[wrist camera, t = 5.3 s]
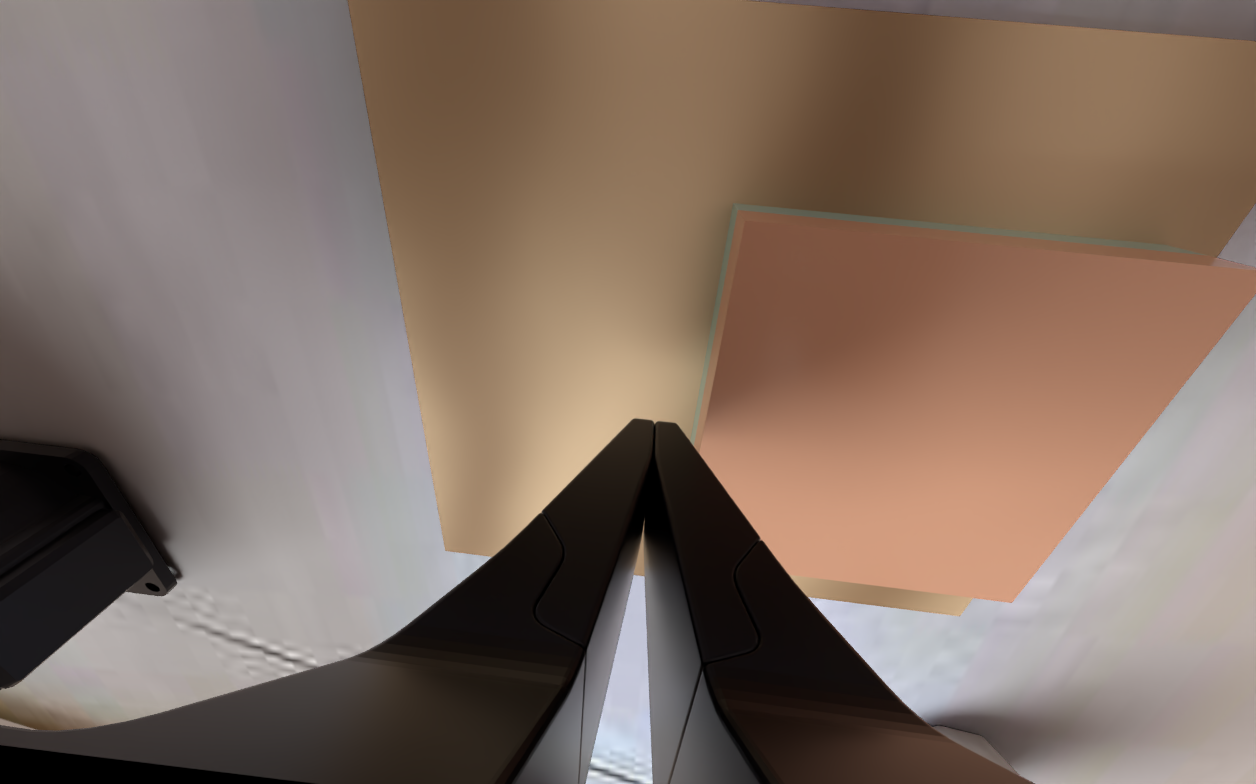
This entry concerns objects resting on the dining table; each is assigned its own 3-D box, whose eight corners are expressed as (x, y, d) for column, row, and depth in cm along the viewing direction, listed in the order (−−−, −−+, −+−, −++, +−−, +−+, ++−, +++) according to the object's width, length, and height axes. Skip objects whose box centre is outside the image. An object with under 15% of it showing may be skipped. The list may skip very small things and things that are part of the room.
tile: (678, 560, 11) (1011, 602, 11) (744, 220, 7) (1272, 272, 7) (678, 508, 13) (970, 543, 13) (732, 203, 9) (1165, 245, 9)
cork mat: (450, 541, 15) (445, 550, 15) (356, -26, 8) (341, -32, 8) (953, 604, 15) (960, 616, 14) (1331, 53, 7) (1364, 50, 7)
